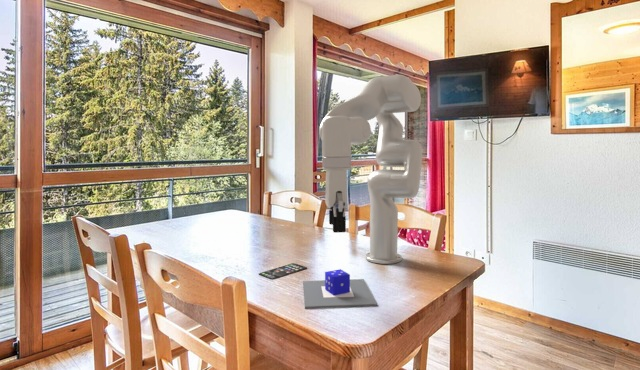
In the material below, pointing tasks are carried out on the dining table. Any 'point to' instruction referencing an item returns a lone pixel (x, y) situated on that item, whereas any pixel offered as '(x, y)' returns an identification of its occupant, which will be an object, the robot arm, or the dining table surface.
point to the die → (337, 282)
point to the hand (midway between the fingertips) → (337, 227)
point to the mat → (323, 299)
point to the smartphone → (282, 271)
